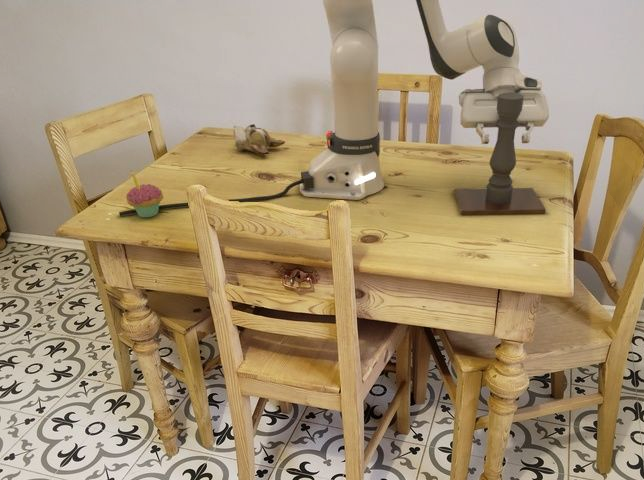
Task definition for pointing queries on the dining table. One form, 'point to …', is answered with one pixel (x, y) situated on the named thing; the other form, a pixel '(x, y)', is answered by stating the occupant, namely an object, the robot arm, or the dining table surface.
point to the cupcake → (144, 198)
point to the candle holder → (504, 148)
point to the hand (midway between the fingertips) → (505, 142)
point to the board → (478, 205)
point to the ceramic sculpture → (254, 139)
